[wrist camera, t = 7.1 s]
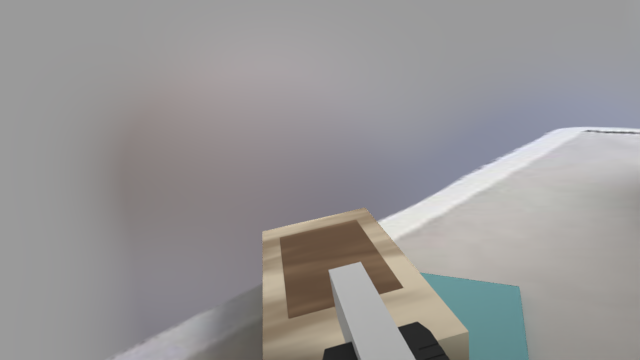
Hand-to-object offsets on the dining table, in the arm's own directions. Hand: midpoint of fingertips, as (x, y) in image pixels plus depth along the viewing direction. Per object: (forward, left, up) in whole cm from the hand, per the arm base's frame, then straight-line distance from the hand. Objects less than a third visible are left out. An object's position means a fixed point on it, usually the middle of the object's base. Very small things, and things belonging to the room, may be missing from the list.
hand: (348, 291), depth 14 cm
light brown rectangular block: (+1, +1, -5) cm, 5 cm away
